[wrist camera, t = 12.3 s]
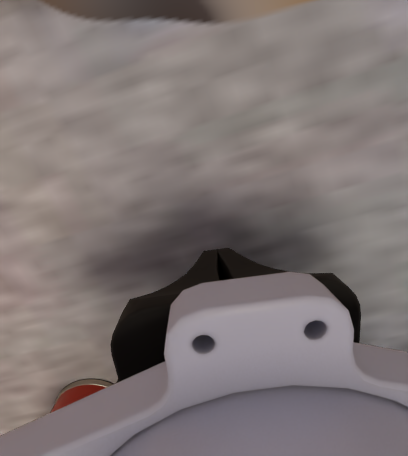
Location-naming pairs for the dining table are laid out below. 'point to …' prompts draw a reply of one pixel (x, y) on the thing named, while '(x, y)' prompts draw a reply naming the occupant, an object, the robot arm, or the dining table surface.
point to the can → (79, 392)
